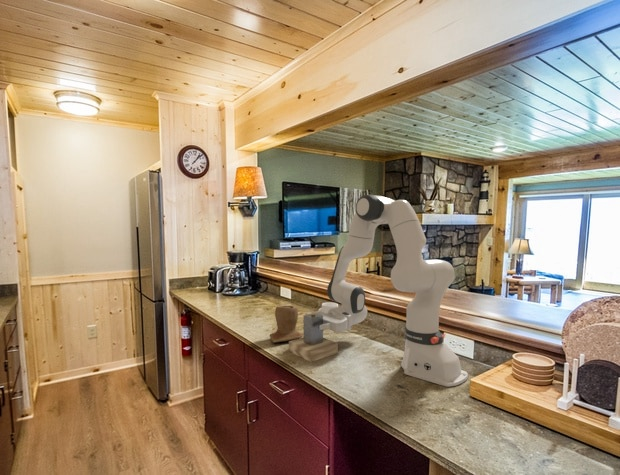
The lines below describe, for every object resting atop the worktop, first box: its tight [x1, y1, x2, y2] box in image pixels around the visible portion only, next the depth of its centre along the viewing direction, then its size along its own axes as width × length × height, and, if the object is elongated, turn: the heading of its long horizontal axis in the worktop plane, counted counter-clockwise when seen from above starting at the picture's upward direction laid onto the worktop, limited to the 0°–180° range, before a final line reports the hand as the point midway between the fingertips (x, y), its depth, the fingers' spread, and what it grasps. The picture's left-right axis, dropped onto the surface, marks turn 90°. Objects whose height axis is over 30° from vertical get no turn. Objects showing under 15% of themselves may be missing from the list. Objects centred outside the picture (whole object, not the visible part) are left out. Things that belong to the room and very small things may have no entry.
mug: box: [317, 301, 339, 313], centre depth 177 cm, size 12×8×10 cm
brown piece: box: [269, 305, 303, 344], centre depth 156 cm, size 15×12×15 cm
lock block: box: [303, 311, 324, 346], centre depth 140 cm, size 5×6×12 cm
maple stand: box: [288, 337, 339, 363], centre depth 141 cm, size 14×14×4 cm
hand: (311, 324), depth 140 cm, fingers open, 8 cm apart
